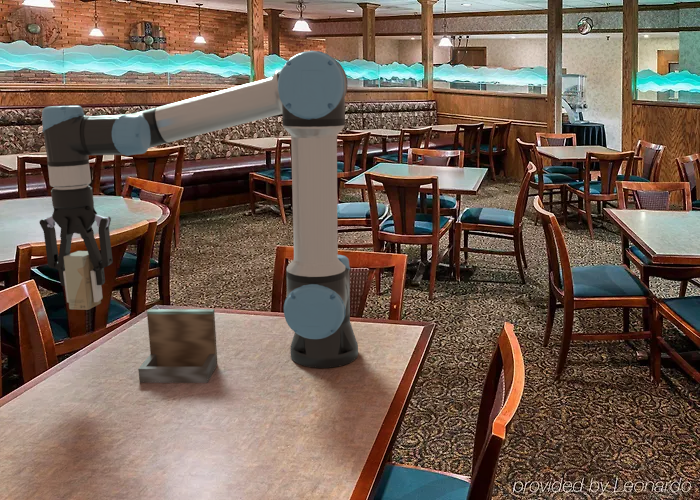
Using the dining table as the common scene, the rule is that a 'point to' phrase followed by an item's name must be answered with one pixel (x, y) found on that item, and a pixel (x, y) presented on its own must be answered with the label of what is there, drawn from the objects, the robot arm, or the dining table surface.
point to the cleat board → (180, 346)
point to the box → (79, 280)
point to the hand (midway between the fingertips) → (85, 300)
